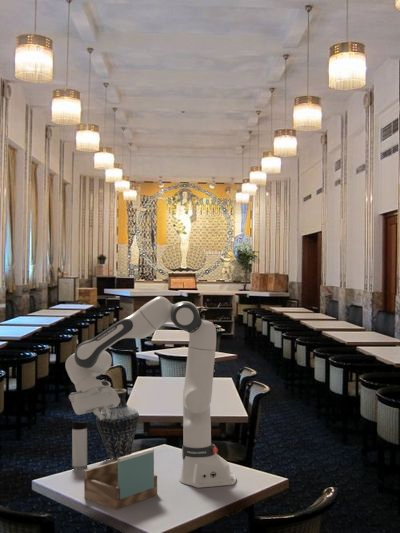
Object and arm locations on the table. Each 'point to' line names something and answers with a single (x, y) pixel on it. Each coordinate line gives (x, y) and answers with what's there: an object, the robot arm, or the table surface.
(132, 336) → the robot arm
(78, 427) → the travel mug
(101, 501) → the wooden drawer
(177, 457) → the table surface
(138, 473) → the teal flat panel
